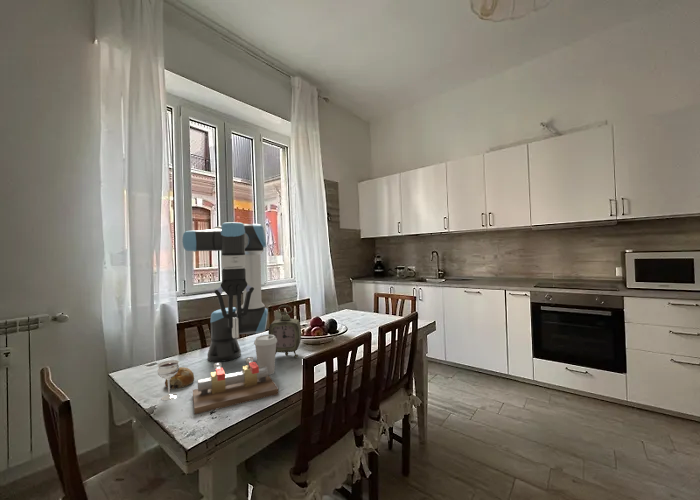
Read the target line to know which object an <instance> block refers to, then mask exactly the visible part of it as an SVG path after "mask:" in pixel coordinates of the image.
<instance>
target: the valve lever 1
mask: <svg viewBox="0 0 700 500" xmlns="http://www.w3.org/2000/svg"><path fill="white" fill-rule="evenodd" d="M222 363H223V362H215V363H214V364H213V370H215V372H216V377H217V380H218V381H221V380H225V375H226V373H224V372H225V370H224V368H223V367H222V366H223V365H222Z"/></svg>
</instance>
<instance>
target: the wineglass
mask: <svg viewBox="0 0 700 500" xmlns="http://www.w3.org/2000/svg"><path fill="white" fill-rule="evenodd" d="M179 363H180V361H179V360H177V359H175V360H174V359H173V360H166V361H163V362H160V363H158V364H157V367H158V368H157V375H158V376H159V377H160V378H161V379H165V381H166V380H168V388H167V390H168V394H166V395H164V396H161V398H160V399H161V401H170V400H174V399H176V398H177V397H178V395H177V394H176V393H171V391H170V390H171V389H170V379H171V378H172V377H174V376H175V375H176V374H177V373H178V371H179V367H180V364H179Z"/></svg>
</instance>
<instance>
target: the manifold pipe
mask: <svg viewBox="0 0 700 500" xmlns="http://www.w3.org/2000/svg"><path fill="white" fill-rule="evenodd" d="M241 369H242V370H241V371H237V372H236V371H235V372H232V373H228V374H227V373H225V371H224V373H225V380H221V381H218V380H217V377H216V371H212V372H210V377H206V378H201V379H197V389H198V392H200V391H201V395H206V394H208V390H209V389H211V391H212V394H214V393H219V392H224V391H226V386H228V385H233V384H237V383H242V382H243V384H244V386H245V387H246V386H251V385H255V384H257V379H259V381H260V383H261V382H265V381H266V377H268V368H267V367H261V368H259V373H255V374H252V372H251V371H250V369H249V364H247V365H243V366H242V368H241Z"/></svg>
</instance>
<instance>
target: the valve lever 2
mask: <svg viewBox="0 0 700 500" xmlns="http://www.w3.org/2000/svg"><path fill="white" fill-rule="evenodd" d="M245 364H247V365H248V364H249V369H250V371H251V372H252V374H255V373H259V366H258V365H257V361H254V357H253V356H249V357H246V358H245Z"/></svg>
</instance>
